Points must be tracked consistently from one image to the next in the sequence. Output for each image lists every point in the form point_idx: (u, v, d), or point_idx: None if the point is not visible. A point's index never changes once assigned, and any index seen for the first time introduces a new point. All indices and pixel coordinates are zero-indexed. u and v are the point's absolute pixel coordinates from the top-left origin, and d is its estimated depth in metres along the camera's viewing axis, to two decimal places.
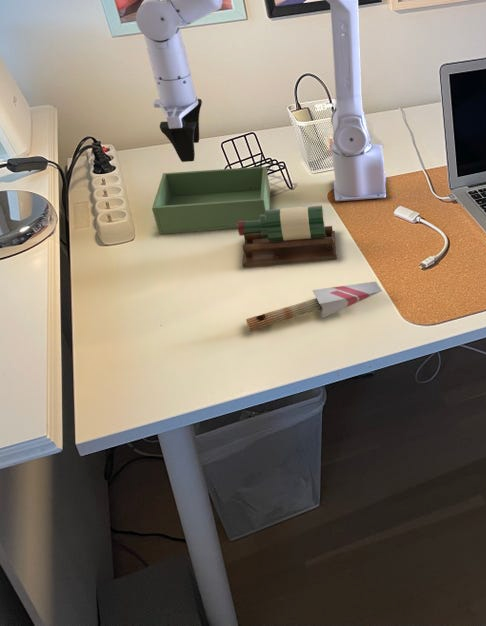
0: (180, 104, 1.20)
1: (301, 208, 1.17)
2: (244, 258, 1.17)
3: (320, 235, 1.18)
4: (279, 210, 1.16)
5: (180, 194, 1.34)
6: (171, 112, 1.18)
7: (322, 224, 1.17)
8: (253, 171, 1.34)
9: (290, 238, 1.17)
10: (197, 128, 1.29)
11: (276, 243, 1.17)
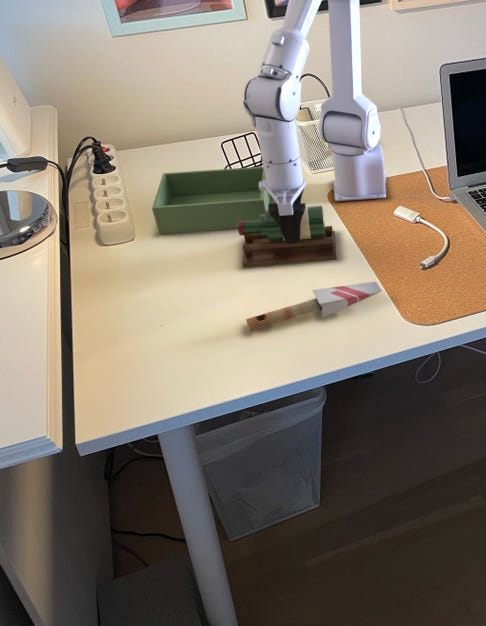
0: (289, 187, 1.11)
1: None
2: (244, 258, 1.17)
3: (320, 235, 1.18)
4: None
5: (180, 194, 1.34)
6: (281, 197, 1.10)
7: (322, 224, 1.17)
8: (253, 171, 1.34)
9: None
10: None
11: (276, 243, 1.17)
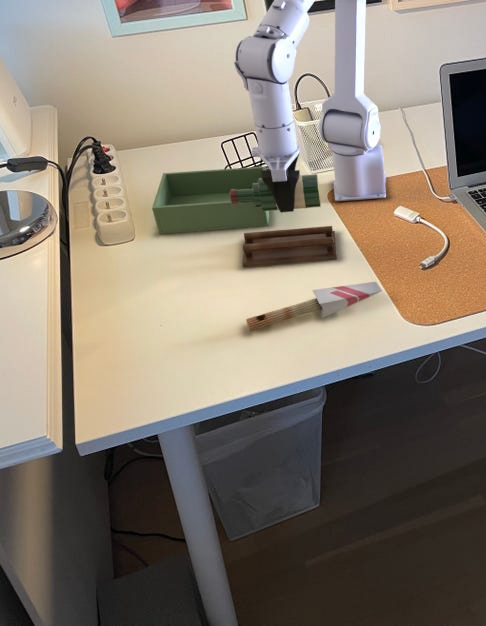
0: (282, 153, 1.08)
1: None
2: (244, 258, 1.17)
3: (315, 205, 1.15)
4: None
5: (180, 194, 1.34)
6: (274, 163, 1.07)
7: (317, 193, 1.13)
8: (253, 171, 1.34)
9: None
10: None
11: (276, 243, 1.17)
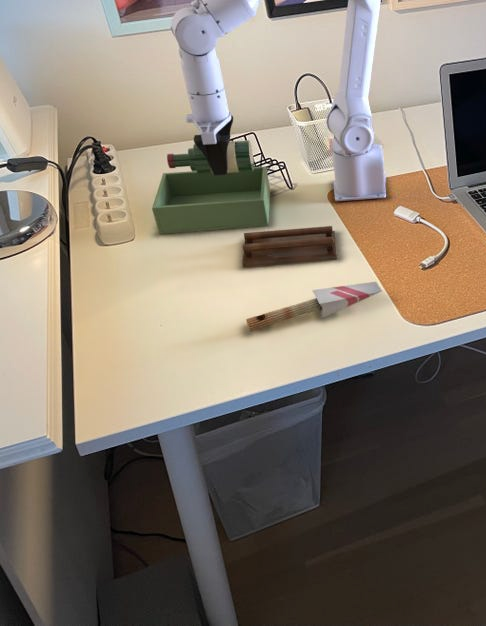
0: (214, 119, 1.17)
1: None
2: (244, 258, 1.17)
3: (247, 168, 1.23)
4: None
5: (180, 194, 1.34)
6: (205, 127, 1.15)
7: (248, 157, 1.22)
8: (253, 171, 1.34)
9: None
10: None
11: (276, 243, 1.17)
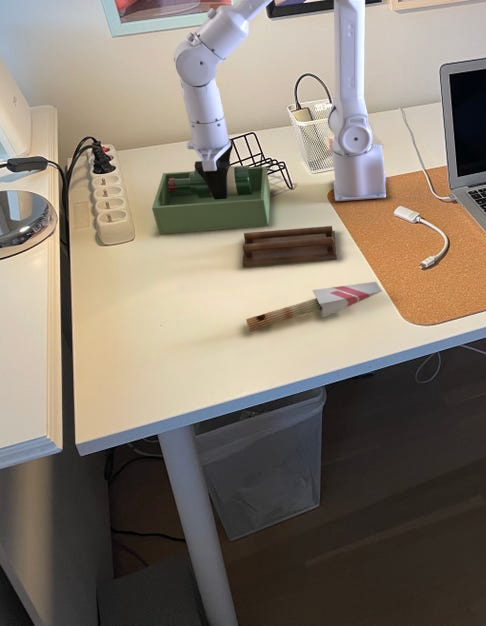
0: (214, 146, 1.21)
1: None
2: (244, 258, 1.17)
3: (246, 193, 1.27)
4: None
5: (180, 194, 1.34)
6: (205, 155, 1.19)
7: (247, 182, 1.26)
8: (253, 171, 1.34)
9: None
10: None
11: (276, 243, 1.17)
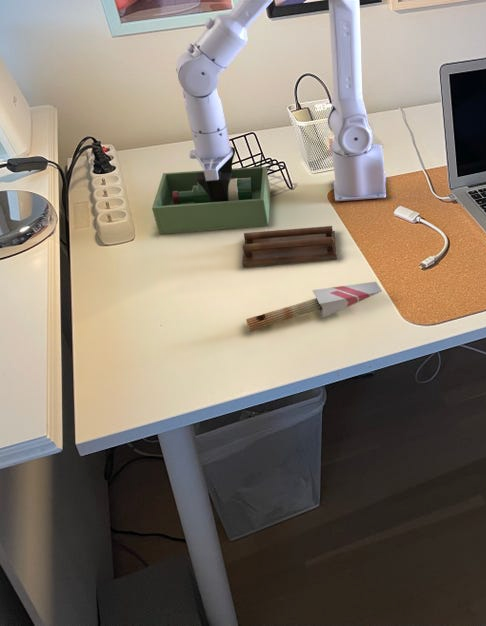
0: (216, 156, 1.22)
1: (231, 179, 1.29)
2: (244, 258, 1.17)
3: None
4: None
5: None
6: (207, 164, 1.20)
7: (250, 192, 1.28)
8: (253, 171, 1.34)
9: None
10: (230, 176, 1.31)
11: (276, 243, 1.17)
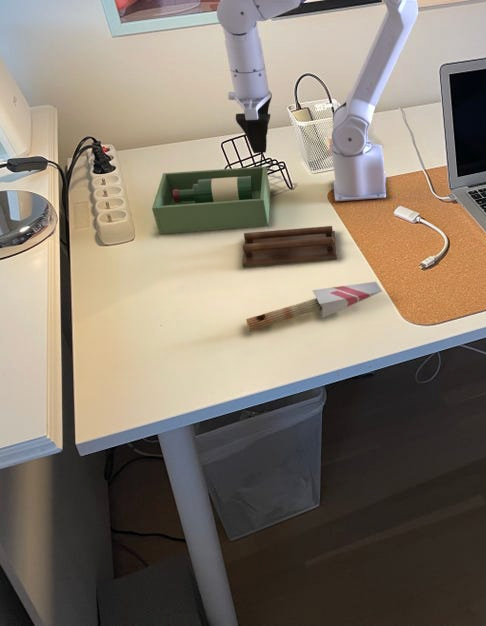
0: (255, 96, 1.22)
1: (232, 177, 1.30)
2: (244, 258, 1.17)
3: None
4: None
5: None
6: (247, 104, 1.21)
7: (250, 187, 1.28)
8: (253, 171, 1.34)
9: None
10: None
11: (276, 243, 1.17)
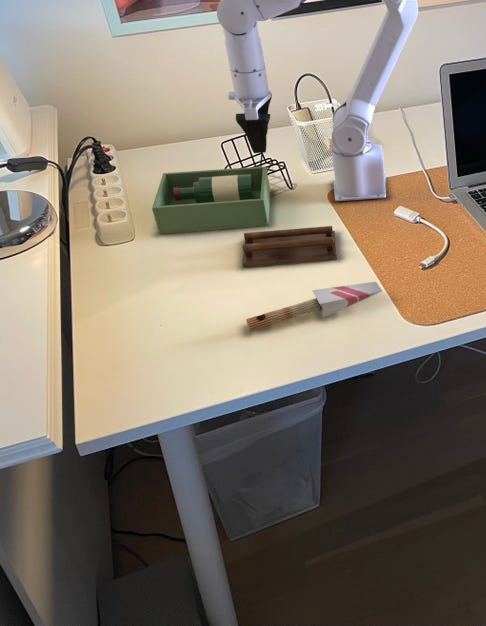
0: (255, 96, 1.22)
1: None
2: (244, 258, 1.17)
3: (247, 194, 1.29)
4: None
5: None
6: (247, 104, 1.21)
7: (249, 182, 1.29)
8: (253, 171, 1.34)
9: (220, 197, 1.28)
10: None
11: (276, 243, 1.17)
